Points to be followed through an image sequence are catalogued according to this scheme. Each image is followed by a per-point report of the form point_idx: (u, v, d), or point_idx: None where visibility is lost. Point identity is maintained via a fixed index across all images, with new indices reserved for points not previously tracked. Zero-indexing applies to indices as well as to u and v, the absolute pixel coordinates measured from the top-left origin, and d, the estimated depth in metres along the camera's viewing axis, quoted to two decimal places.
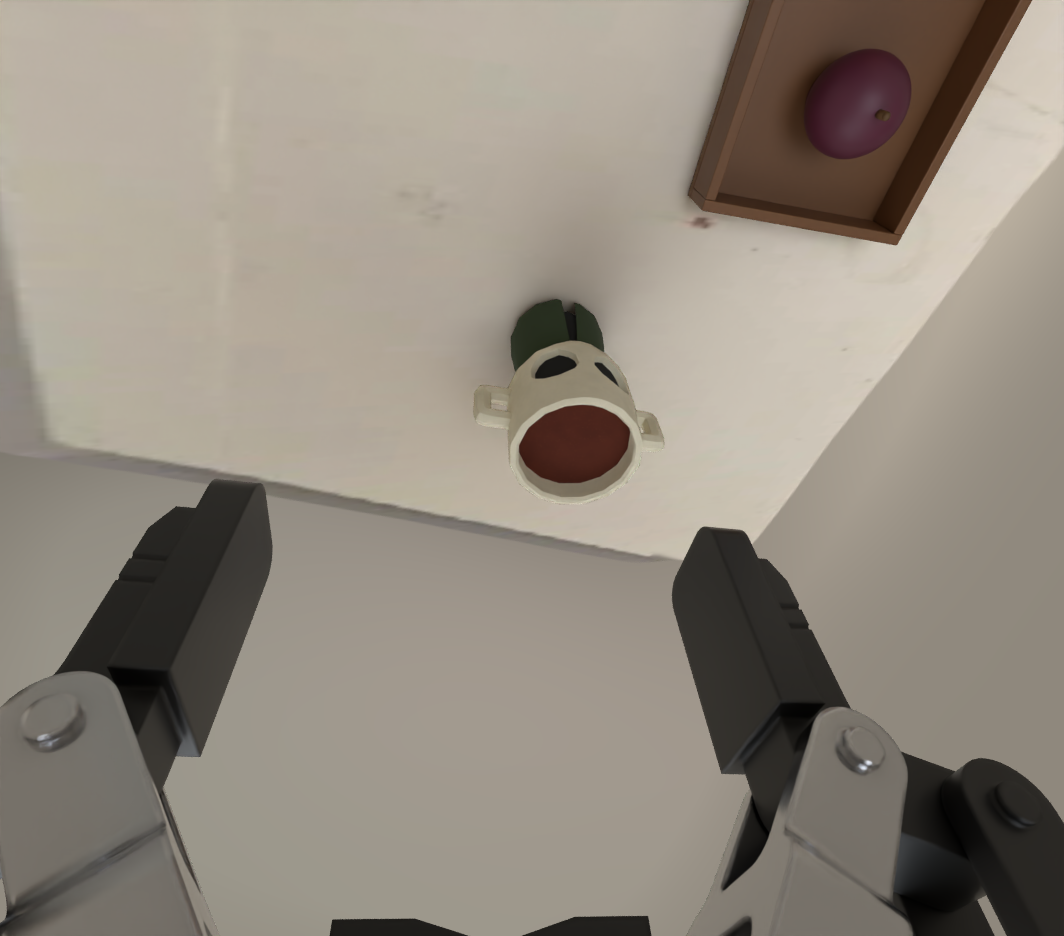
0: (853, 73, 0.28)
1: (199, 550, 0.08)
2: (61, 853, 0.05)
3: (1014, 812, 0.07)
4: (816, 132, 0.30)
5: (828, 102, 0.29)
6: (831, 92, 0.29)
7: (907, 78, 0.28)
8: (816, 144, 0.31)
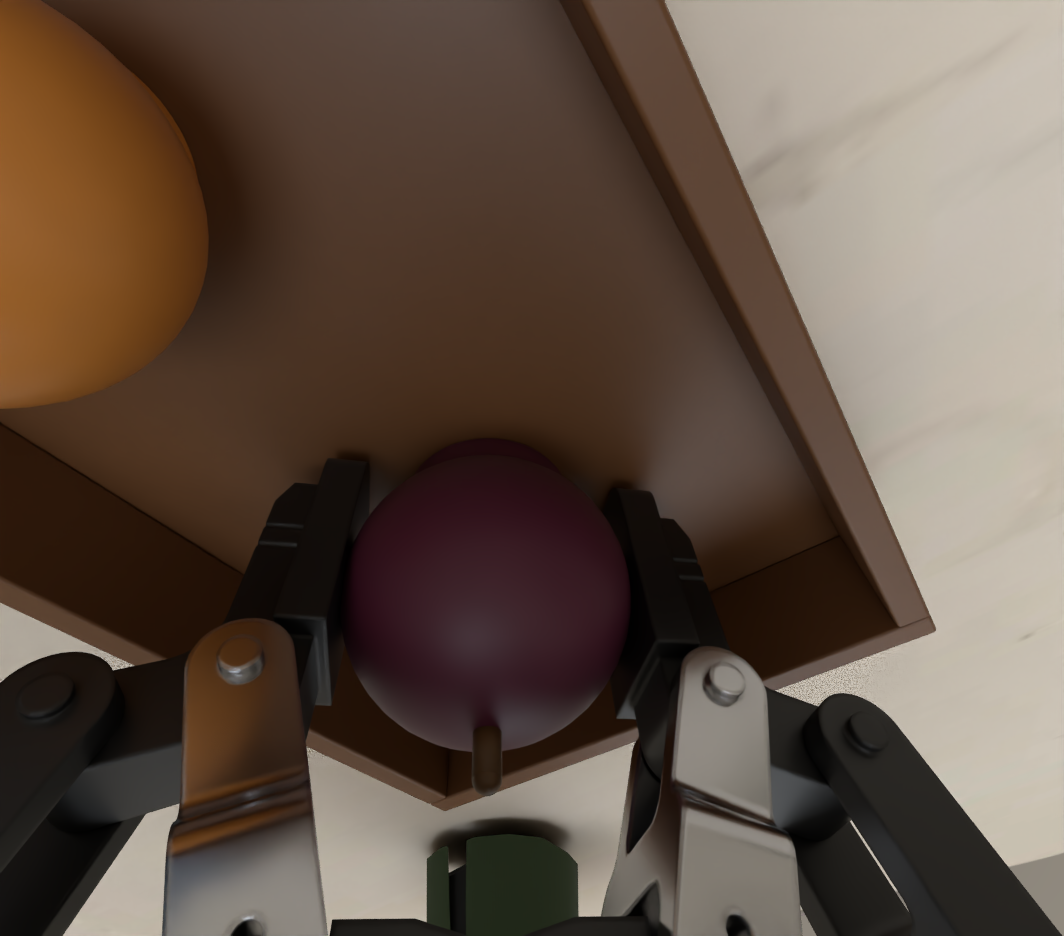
0: (354, 664, 0.09)
1: (329, 519, 0.09)
2: (273, 764, 0.06)
3: (867, 742, 0.08)
4: None
5: None
6: None
7: (482, 591, 0.08)
8: None
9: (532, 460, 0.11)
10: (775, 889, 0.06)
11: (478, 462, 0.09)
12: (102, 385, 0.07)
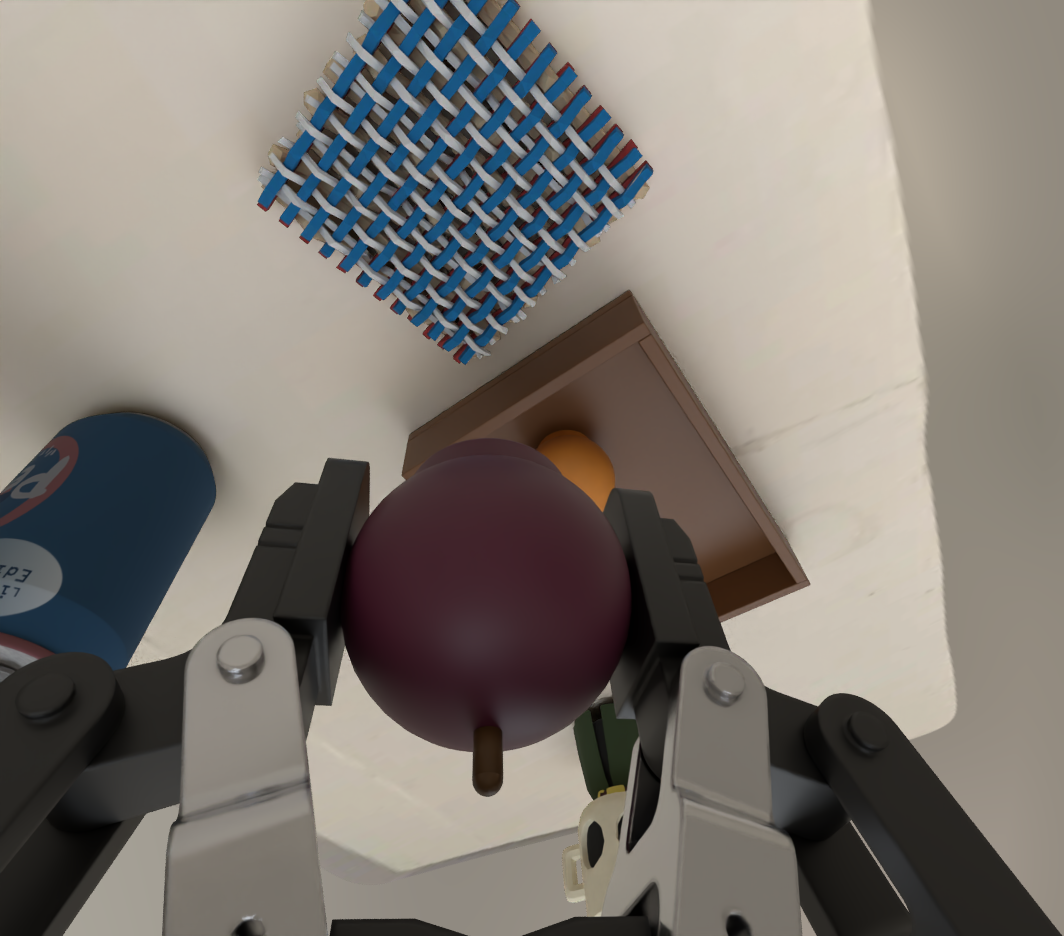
0: (354, 664, 0.09)
1: (329, 519, 0.09)
2: (274, 764, 0.06)
3: (866, 742, 0.08)
4: None
5: None
6: None
7: (483, 591, 0.08)
8: None
9: (532, 460, 0.11)
10: (775, 889, 0.06)
11: (479, 462, 0.09)
12: None
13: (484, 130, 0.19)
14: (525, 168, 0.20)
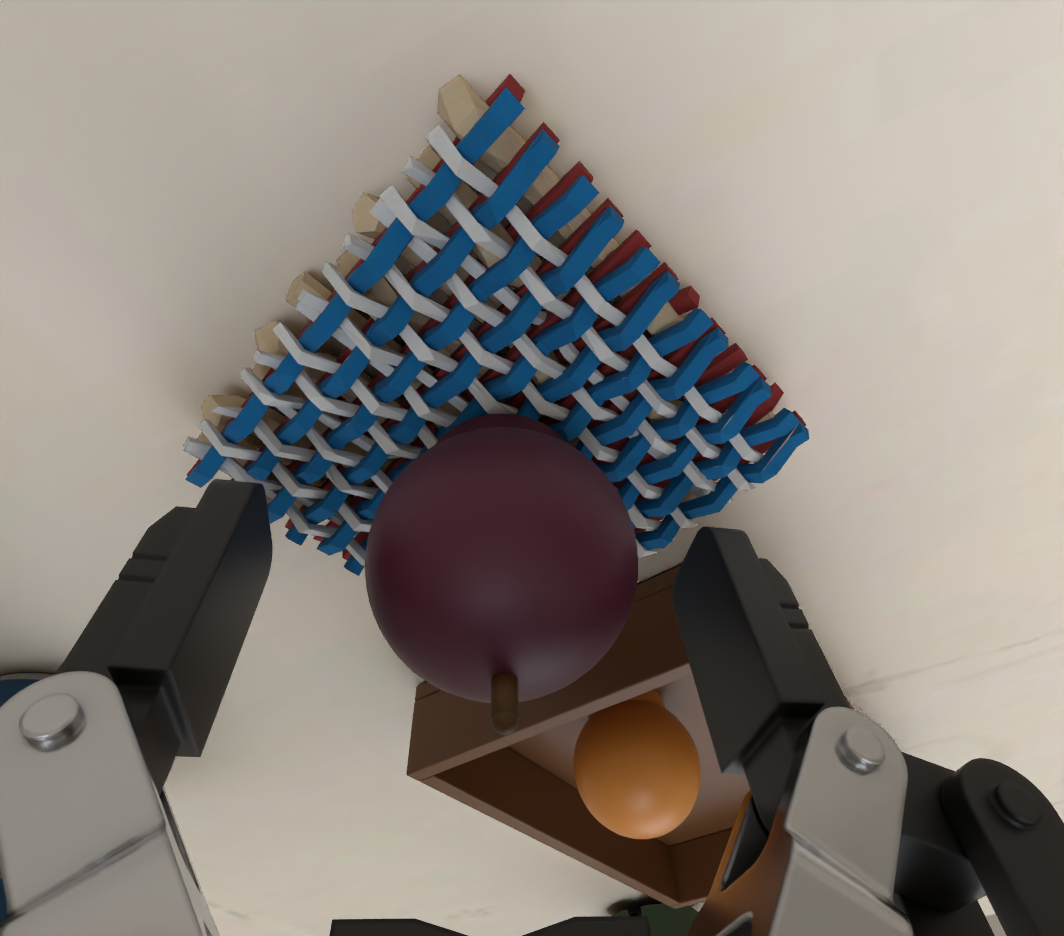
0: (379, 619, 0.10)
1: (199, 550, 0.08)
2: (61, 853, 0.05)
3: (1014, 812, 0.07)
4: None
5: None
6: None
7: (501, 545, 0.08)
8: None
9: (544, 434, 0.11)
10: None
11: (495, 432, 0.10)
12: None
13: (551, 392, 0.12)
14: (612, 438, 0.12)
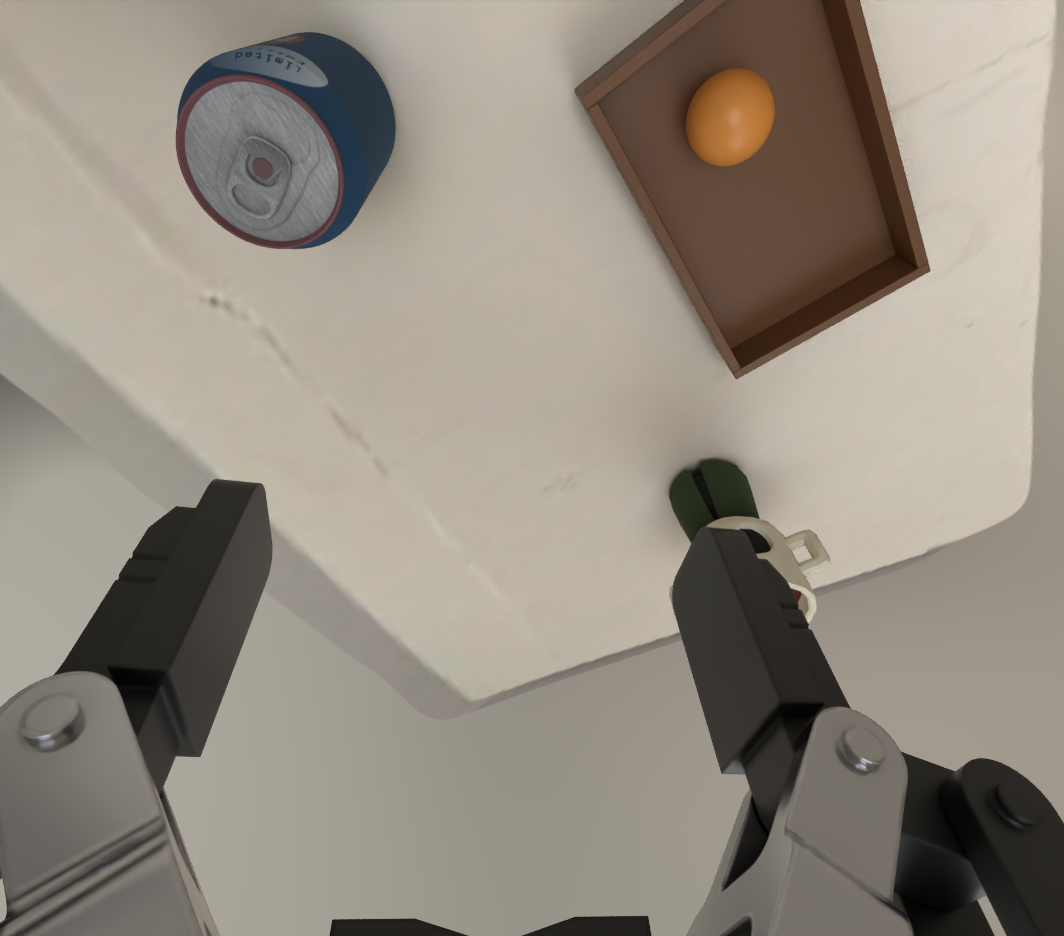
0: None
1: (199, 550, 0.08)
2: (61, 853, 0.05)
3: (1014, 812, 0.07)
4: None
5: None
6: None
7: None
8: None
9: None
10: None
11: None
12: (745, 159, 0.30)
13: None
14: None
